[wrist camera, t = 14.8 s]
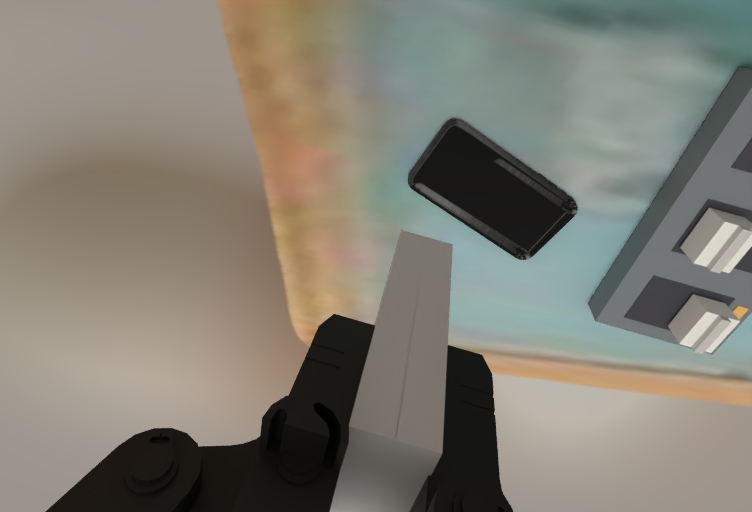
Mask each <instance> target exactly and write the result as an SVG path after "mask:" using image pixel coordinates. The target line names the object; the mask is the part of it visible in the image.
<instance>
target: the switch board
mask: <svg viewBox="0 0 752 512" xmlns="http://www.w3.org/2000/svg"><path fill="white" fill-rule="evenodd" d="M708 208H712V209H716V210H720V211H723V212H727V213H730V214H734V215H738V216H741V217H745V218H746V219H747V220H749V221H750V222H751V223H752V70H750V69H747V68H743V67H738V69H737V71H736V72H735V74H734V75H733V77H732V78H731V80H730V81H729V83H728V85H727V86H726V88H725V89H724V91H723V92H722V94H721V96H720V97H719V99H718V100H717V102H716V103H715V105H714V107H713V108H712V110H711V111H710V113H709V114H708V116H707V118H706V119H705V121H704V122H703V124H702V125H701V127H700V128H699V130H698V132H697V133H696V135H695V136H694V138H693V139H692V141H691V143H690V144H689V146H688V147H687V149H686V150H685V152H684V154H683V155H682V157H681V158H680V160H679V161H678V163H677V165H676V166H675V168H674V169H673V171H672V172H671V174H670V175H669V177H668V179H667V180H666V182H665V183H664V185H663V186H662V188H661V190H660V191H659V193H658V194H657V196H656V197H655V199H654V201H653V202H652V204H651V205H650V207H649V208H648V210H647V212H646V213H645V215H644V216H643V218H642V219H641V221H640V223H639V224H638V226H637V227H636V229H635V230H634V232H633V233H632V235H631V237H630V238H629V240H628V241H627V243H626V244H625V246H624V248H623V249H622V251H621V252H620V254H619V255H618V257H617V259H616V260H615V262H614V263H613V265H612V266H611V268H610V270H609V271H608V273H607V274H606V276H605V277H604V279H603V280H602V282H601V284H600V285H599V287H598V288H597V290H596V291H595V293H594V295H593V296H592V298H591V299H590V301H589V302H588V304H589V307H590V309H591V312H592V314H593V317H594V319H595V321H597V322H600V323H604V324H607V325H611V326H614V327H618V328H621V329H625V330H628V331H632V332H635V333H639V334H642V335H646V336H649V337H653V338H656V339H660V340H663V341H667V342H670V343H674V344H677V345H681V344H679V343H678V341H677V340H676V338H675V336H674V335H673V333H672V331H671V330H670V328H669V327H668V325H669V324H670V322H671V321H672V320H673V319H674V317H675V316H676V315H677V314H678V312H679V311H680V310H681V309H682V308H683V306H684V305H685V304H686V303H687V301H688V300H689V299H690V298H691V296H692V295H693V294H694V295H698V296H701V297H705V298H709V299H712V300H716V301H719V302H723V303H725V304H726V305H727V306H728V307H729V308H730V310H731V311H732V312H733V313H734V314H735V315H736V317H737V318H738V319H739V320H740V322H739V323H738V324H737V326H736V327H735V328H734V329H733V330H732V331H731V332H730V333H729V334H728V335H727V336H726V338H725V339H724V340H723V341H722V342H721V343H720V344H719V345H718V346H717V347H716V348H715V349H714V351H713V352H712V353H709V352H705V353H709V354H712V355H713V354H714V352H715V351H716V350H717V349H718V348H719V347H720V346H721V345H722V344H723V343H724V342H725V341H726V339H727V338H728V337H729V336H730V335H731V334H732V333H733V332H734V331H735V330H736V329H737V328H738V326H739V325H740V324H741V323H742V322H743V321H744V320H745V319H746V318H747V317H748V316H749V315H750V313H751V312H752V246H751V248H750V249H749V250H748V251H747V252H746V254H745V255H744V256H743V257H742V258H741V260H740V261H739V262H738V263H737V264H736V266H735V267H734V268H733V269H732V271H731V272H730V273H726V272H723V271H721V273H720V274H719V273H716V272H712V271H710V270H709V269H708V268H707V267H705V266H701V265H698V264H694V263H693V262H692V261H691V260H690V259H689V257H688V256H687V255H686V254H685V253H684V252H683V250H682V249H681V248H680V247H681V246H682V244H683V243H684V241H685V240H686V239H687V237H688V236H689V235H690V233H691V232H692V230H693V229H694V228H695V226H696V225H697V224H698V222H699V221H700V219H701V218H702V217H703V215H704V214H705V212H706V211H707V210H708ZM681 346H684V345H681ZM684 347H688V346H684ZM688 348H691V347H688ZM691 349H692V348H691Z"/></svg>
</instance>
